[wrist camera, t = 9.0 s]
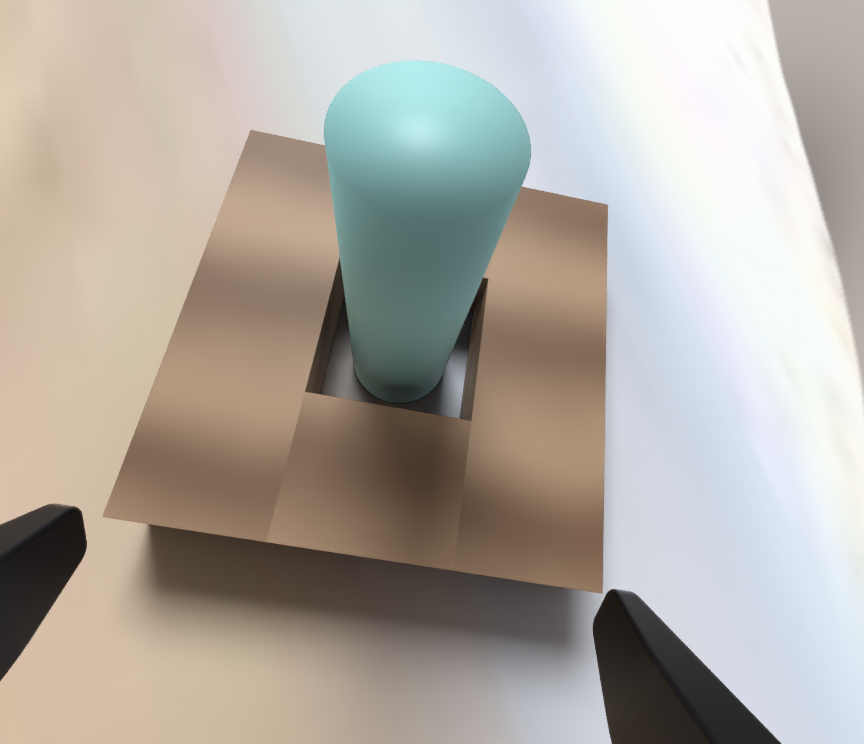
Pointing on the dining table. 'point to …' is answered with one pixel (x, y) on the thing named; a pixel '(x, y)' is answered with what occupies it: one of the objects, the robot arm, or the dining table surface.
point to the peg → (418, 211)
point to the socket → (371, 423)
